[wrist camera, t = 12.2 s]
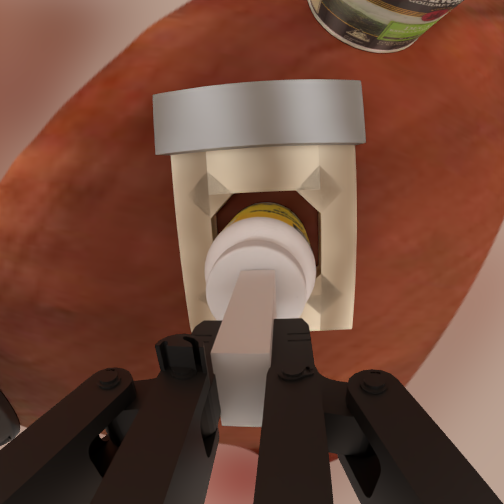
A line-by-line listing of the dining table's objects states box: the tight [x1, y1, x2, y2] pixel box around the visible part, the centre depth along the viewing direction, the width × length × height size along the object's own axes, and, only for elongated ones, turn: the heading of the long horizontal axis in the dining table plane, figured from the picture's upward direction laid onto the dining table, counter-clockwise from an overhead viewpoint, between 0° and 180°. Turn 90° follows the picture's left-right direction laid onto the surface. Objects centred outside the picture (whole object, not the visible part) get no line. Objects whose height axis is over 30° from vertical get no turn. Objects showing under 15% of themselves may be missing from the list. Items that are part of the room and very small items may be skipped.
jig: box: [153, 79, 366, 332], centre depth 22 cm, size 13×18×5 cm
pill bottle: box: [205, 202, 316, 320], centre depth 20 cm, size 6×6×11 cm
